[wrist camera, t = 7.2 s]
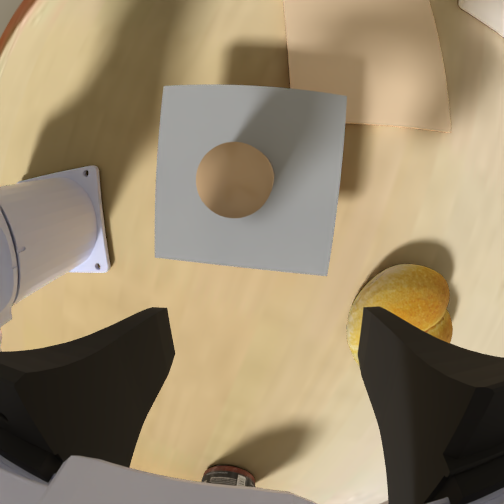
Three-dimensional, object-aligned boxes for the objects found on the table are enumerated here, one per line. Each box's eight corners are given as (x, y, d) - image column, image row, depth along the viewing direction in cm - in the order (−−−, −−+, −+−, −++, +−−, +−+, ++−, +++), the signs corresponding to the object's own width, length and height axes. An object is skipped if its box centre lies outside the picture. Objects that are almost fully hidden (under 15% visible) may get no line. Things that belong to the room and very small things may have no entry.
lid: (160, 253, 17) (124, 281, 12) (169, 89, 14) (132, 67, 10) (324, 270, 16) (338, 307, 12) (343, 99, 14) (366, 76, 9)
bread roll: (434, 244, 19) (462, 261, 15) (445, 343, 21) (465, 369, 17) (330, 282, 21) (340, 308, 17) (355, 377, 23) (365, 410, 19)
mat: (292, 123, 18) (292, 121, 17) (280, -17, 15) (280, -21, 14) (448, 133, 17) (451, 132, 16) (425, 0, 14) (428, -3, 13)
